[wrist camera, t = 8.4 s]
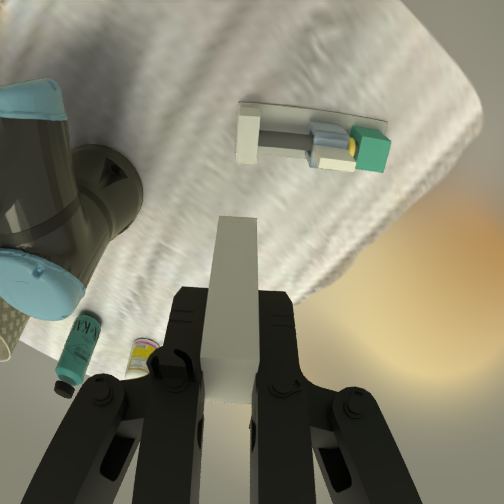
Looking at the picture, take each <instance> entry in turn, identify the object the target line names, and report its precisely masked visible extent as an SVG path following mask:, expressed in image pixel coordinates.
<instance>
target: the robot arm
mask: <svg viewBox="0 0 504 504" xmlns="http://www.w3.org/2000/svg"><path fill="white" fill-rule="evenodd" d="M67 120H68V116H67V115H66V113H65V109H64V104H63V97H62V91H61V88H60V86H59V84H58V83H57V82H56V81H54V80H53V79H49V78H42V79H36V80H30V81H24V82H19V83H15V84H10V85H6V86H1V87H0V296H1V297H2V298H3V299H4V300H5V301H6V302H7V303H9V304H10V305H11V306H13V307H14V308H16V309H17V310H19V311H21V312H22V313H24V314H26V315H29V316H31V317H34V318H37V319H41V320H46V321H58V320H62V319H65V318H67V317H68V316H69V315H71V314H72V313H73V312H74V310H75V308H76V306H77V305H78V303H79V301H80V300H81V298H83V297H84V295H85V290H86V288H87V285H88V283H89V281H90V279H91V277H92V275H93V273H94V271H95V269H96V267H97V265H98V263H99V261H100V259H101V257H102V255H103V253H104V251H105V249H106V247H107V245H108V244H109V242H110V241H111V240H113V239H114V238H115V237H116V236H117V235H119V234H121V233H122V232H124V231H125V230H126V229H128V228H129V227H130V225H131V224H132V223H133V222H134V220H135V218H136V216H137V214H138V212H139V210H140V208H141V205H142V199H143V191H142V185H141V181H140V178H139V176H138V174H137V172H136V170H135V169H134V167H133V166H132V164H131V163H130V162H129V161H128V160H127V159H126V158H125V157H124V156H123V155H121V154H120V153H118V152H117V151H115V150H113V149H111V148H109V147H106V146H102V145H84V146H81V147H78V148H76V149H74V150H73V151H71V145H70V139H69V132H68V125H67ZM146 365H147V367H148V370H149V374H147V375H145V376H142V377H139V378H133V379H127V380H121V381H119V380H118V379H117V378H115V377H114V376H112V375H109V374H104V373H103V374H96V375H94V376H92V377H90V378H88V379H87V380H86V381H85V383H84V384H83V385H82V387H81V388H80V390H79V392H78V394H77V396H76V397H75V399H74V401H73V402H72V404H71V406H70V408H69V409H68V411H67V413H66V415H65V417H64V418H63V420H62V422H61V424H60V426H59V428H58V429H57V431H56V433H55V435H54V437H53V439H52V441H51V443H50V444H49V446H48V448H47V450H46V452H45V454H44V456H43V458H42V460H41V462H40V464H39V466H38V468H37V470H36V472H35V474H34V476H33V478H32V480H31V483H30V484H29V487H28V489H27V491H26V493H25V495H24V497H23V499H22V502H21V504H113V502H114V499H115V497H116V495H117V492H118V490H119V487H120V485H121V483H122V481H123V478H124V476H125V474H126V472H127V469H128V467H129V465H130V462H131V460H132V458H133V455H134V453H135V451H136V449H137V446H138V444H139V442H140V447H139V453H138V460H137V467H136V474H135V483H134V490H133V498H132V504H199V489H200V473H201V457H202V442H203V428H204V414H203V412H204V401H205V402H218V403H236V404H252V416H251V420H250V425H249V429H250V504H316V494H315V480H314V466H313V453H312V448H313V450H314V453H315V456H316V459H317V461H318V464H319V467H320V469H321V472H322V475H323V478H324V481H325V483H326V486H327V489H328V492H329V494H330V497H331V500H332V502H333V504H422V501H421V499H420V497H419V494H418V492H417V490H416V487H415V485H414V483H413V480H412V478H411V476H410V474H409V471H408V469H407V467H406V464H405V462H404V460H403V458H402V456H401V453H400V451H399V449H398V447H397V445H396V442H395V440H394V438H393V436H392V434H391V432H390V429H389V427H388V425H387V423H386V421H385V419H384V417H383V415H382V413H381V411H380V408H379V406H378V404H377V402H376V400H375V399H374V398H373V396H372V395H371V393H369V392H368V391H366V390H365V389H363V388H359V387H346V388H345V389H343V390H341V391H339V392H336V391H333V390H329V389H325V388H322V387H319V386H316V385H314V384H312V383H311V382H310V381H308V380H307V379H306V378H305V376H303V374H302V372H301V369H300V365H299V358H298V349H297V339H296V330H295V321H294V312H293V304H292V301H291V300H290V298H289V297H288V295H287V294H286V292H284V291H263V290H258V256H257V218H248V217H232V216H219V221H218V227H217V234H216V241H215V247H214V254H213V261H212V268H211V275H210V283H209V288H198V287H184V286H182V287H181V289H180V290H179V291H178V292H177V294H176V295H175V296H174V298H173V303H172V307H171V312H170V316H169V322H168V325H167V330H166V334H165V339H164V344H163V346H162V347H159V348H157V349H155V350H154V351H153V352H152V353H151V354H150V355H149V357H148V359H147V361H146Z"/></svg>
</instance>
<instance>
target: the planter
mask: <svg viewBox="0 0 504 504" xmlns="http://www.w3.org/2000/svg"><path fill="white" fill-rule="evenodd" d="M29 318H30V316H29V315H26V314H24V313H22V312H21V311H19V310H17V309H16V308H14V307H13V306H11V305H10V304H9V303H7V302H6V301H5V300H4V299H3V298H2V297H1V296H0V361H8V360H9V359H10V357H11V355H12V353H13V351H14V349H15V346H16V344H17V342H18V340H19V338H20V336H21V334H22V332H23V330H24V328H25V326H26V324H27V322H28V320H29Z"/></svg>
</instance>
